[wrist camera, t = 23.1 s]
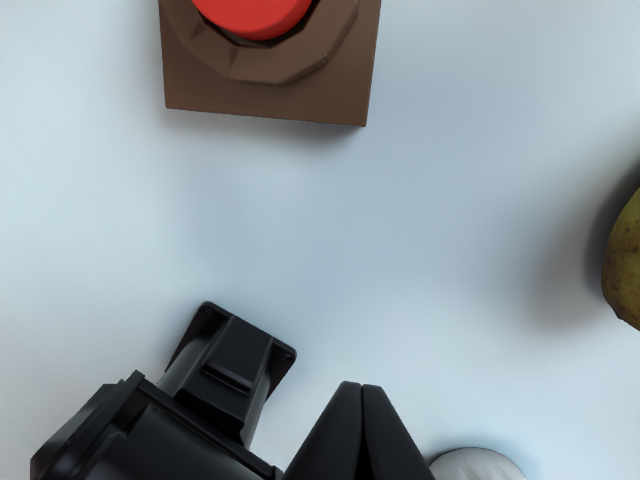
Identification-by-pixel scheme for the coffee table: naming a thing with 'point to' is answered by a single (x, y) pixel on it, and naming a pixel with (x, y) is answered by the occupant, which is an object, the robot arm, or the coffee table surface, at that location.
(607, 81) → the coffee table surface
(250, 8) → the button
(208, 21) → the block
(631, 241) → the olive green oval lump
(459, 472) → the cupcake
